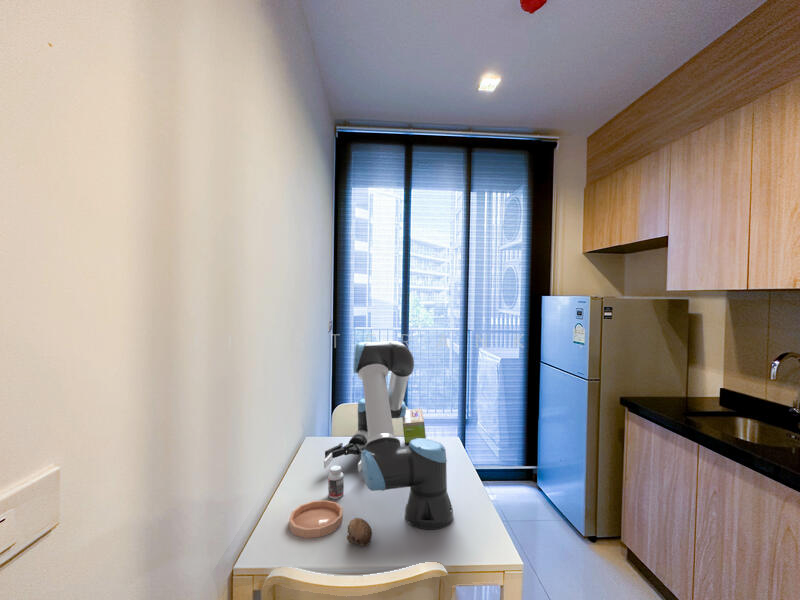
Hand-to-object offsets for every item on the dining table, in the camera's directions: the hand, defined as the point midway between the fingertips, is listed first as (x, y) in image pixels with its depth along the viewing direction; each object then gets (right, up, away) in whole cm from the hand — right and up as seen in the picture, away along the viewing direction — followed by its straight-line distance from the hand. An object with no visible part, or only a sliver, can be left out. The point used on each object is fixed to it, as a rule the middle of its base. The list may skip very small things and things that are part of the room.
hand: (341, 466), depth 139 cm
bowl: (-4, -6, -24) cm, 25 cm away
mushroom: (+11, -6, -34) cm, 37 cm away
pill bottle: (-1, -7, -8) cm, 11 cm away
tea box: (+30, -6, +36) cm, 47 cm away
